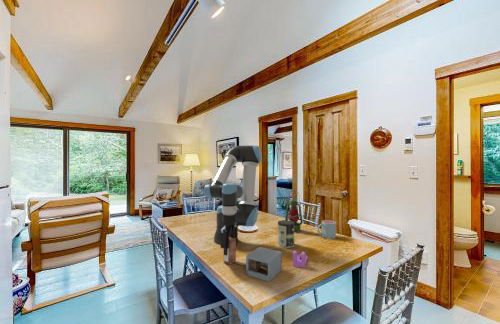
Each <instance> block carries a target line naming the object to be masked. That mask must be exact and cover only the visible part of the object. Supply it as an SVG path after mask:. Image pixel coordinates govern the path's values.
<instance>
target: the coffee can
mask: <svg viewBox="0 0 500 324" xmlns="http://www.w3.org/2000/svg"><path fill="white" fill-rule="evenodd" d="M294 224H295V223H294V222H293V221H290V220H289V219H288V220H285V219H283V220H278V221H277V245H278V246H279V247H280V248H285V249H289V248H293V247H295V233H294Z"/></svg>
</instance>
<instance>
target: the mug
mask: <svg viewBox="0 0 500 324" xmlns="http://www.w3.org/2000/svg"><path fill="white" fill-rule="evenodd" d="M320 228H321V232H320ZM317 233H318V234H319V235H320V236H321V237H322V238H324V239H329V240H331V239H333V240H334V239H336V236H337V235H336V233H337V222H336V221H334V220H328V219H326V220H325V219H324V220H321V223H320V224H319V225H318V226H317Z"/></svg>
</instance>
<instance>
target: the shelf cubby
mask: <svg viewBox="0 0 500 324" xmlns="http://www.w3.org/2000/svg"><path fill="white" fill-rule="evenodd" d="M249 259H251V260H255V261H259V262H261V266H263V267H265V268H267V274H265V273H261V272H258V271H253V270H249ZM245 264H246V266H245V275H246V276H250V277H253V278H256V279H259V280H263V281H266V282H271V281H272V280H273V279H274V278H275V277H277V275H278V274H279V273H280V272H281V270H282V265H283V264H282V251H280V250H275V249H270V248H267V247H261V246H259V247H257V248H255V249H254V250H252V251H251V252H249V253H248V254H246V256H245Z"/></svg>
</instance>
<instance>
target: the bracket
mask: <svg viewBox="0 0 500 324" xmlns="http://www.w3.org/2000/svg"><path fill="white" fill-rule="evenodd" d="M308 258H309V257H308V255H306V251H301V253H299V254H298V251H297V250H293V251H292V266H293V267H298V268H303V269H305V267H306V264H307V262H308Z"/></svg>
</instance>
